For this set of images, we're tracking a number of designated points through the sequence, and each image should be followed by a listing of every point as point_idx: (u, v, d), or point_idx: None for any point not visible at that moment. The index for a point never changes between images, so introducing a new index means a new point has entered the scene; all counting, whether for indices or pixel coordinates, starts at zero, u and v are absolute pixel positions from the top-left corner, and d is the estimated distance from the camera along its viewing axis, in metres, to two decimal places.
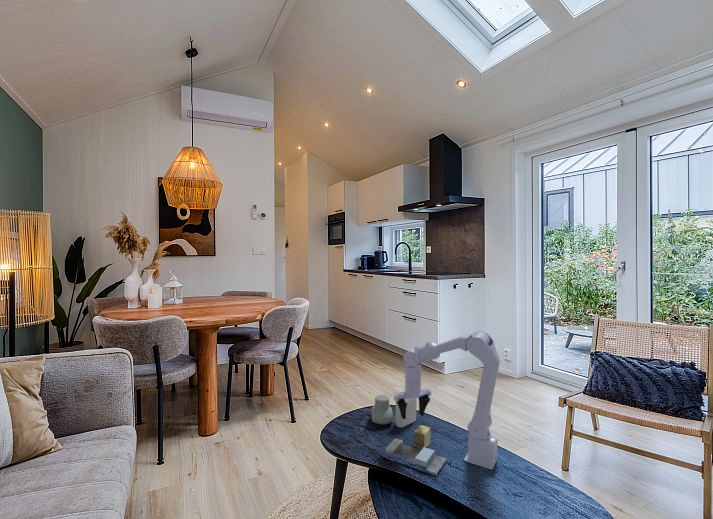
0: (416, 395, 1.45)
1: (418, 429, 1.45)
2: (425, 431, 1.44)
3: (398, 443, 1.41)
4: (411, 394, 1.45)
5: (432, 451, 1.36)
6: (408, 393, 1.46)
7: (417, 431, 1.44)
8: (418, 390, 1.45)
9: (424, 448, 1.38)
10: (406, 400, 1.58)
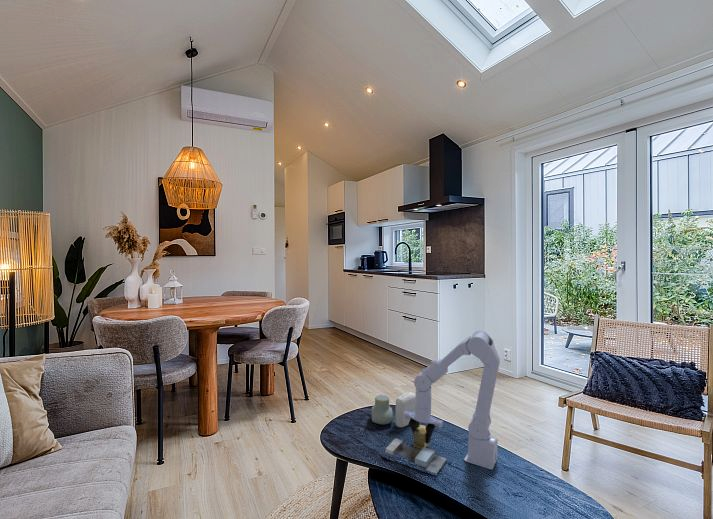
0: (419, 419, 1.43)
1: (418, 429, 1.45)
2: (425, 431, 1.44)
3: (398, 443, 1.41)
4: (416, 416, 1.44)
5: (432, 451, 1.36)
6: (415, 414, 1.45)
7: (417, 431, 1.44)
8: (422, 415, 1.42)
9: (424, 448, 1.38)
10: (406, 400, 1.58)
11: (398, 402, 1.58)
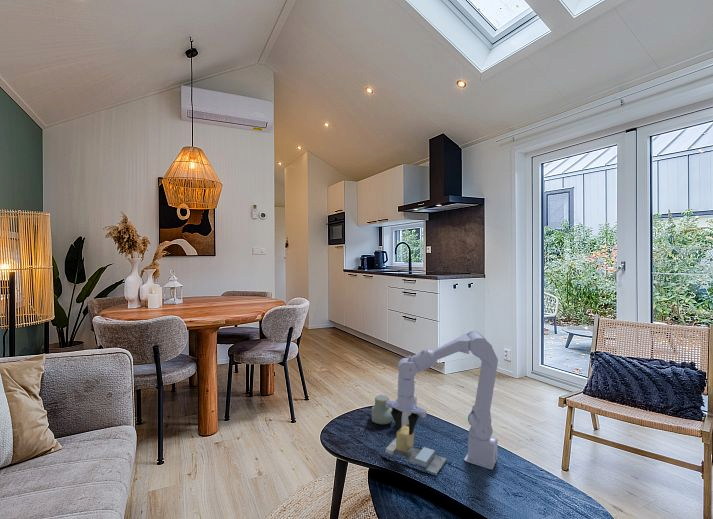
0: (402, 409, 1.35)
1: (401, 429, 1.38)
2: (407, 431, 1.37)
3: None
4: (398, 406, 1.36)
5: (432, 451, 1.36)
6: (397, 404, 1.37)
7: (399, 431, 1.37)
8: (404, 404, 1.34)
9: (424, 448, 1.38)
10: None
11: None
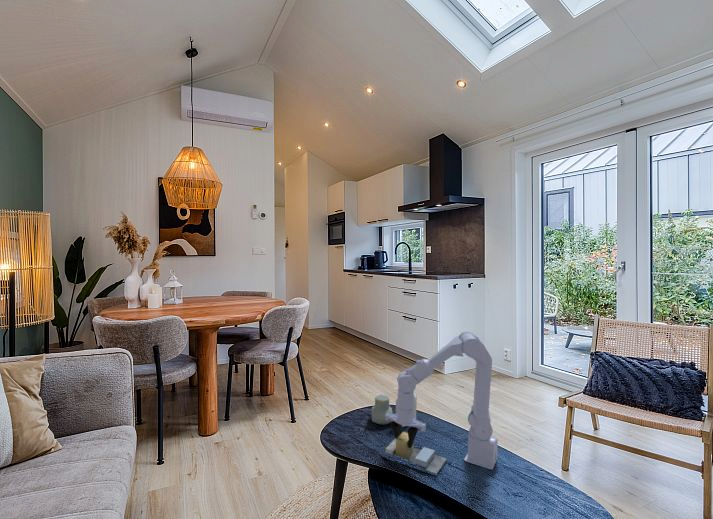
0: (401, 422, 1.35)
1: (400, 436, 1.38)
2: (407, 438, 1.37)
3: None
4: (398, 419, 1.37)
5: (432, 451, 1.36)
6: (397, 417, 1.38)
7: (399, 438, 1.37)
8: (404, 418, 1.35)
9: (424, 448, 1.38)
10: None
11: None
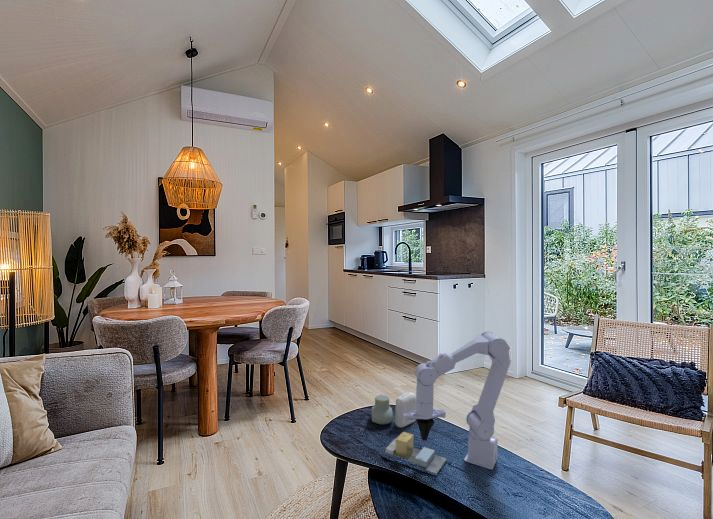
0: (427, 416, 1.31)
1: (400, 436, 1.38)
2: (407, 438, 1.37)
3: None
4: (421, 415, 1.31)
5: (432, 451, 1.36)
6: (418, 413, 1.32)
7: (399, 438, 1.37)
8: (430, 411, 1.31)
9: (424, 448, 1.38)
10: (406, 400, 1.58)
11: (398, 402, 1.58)
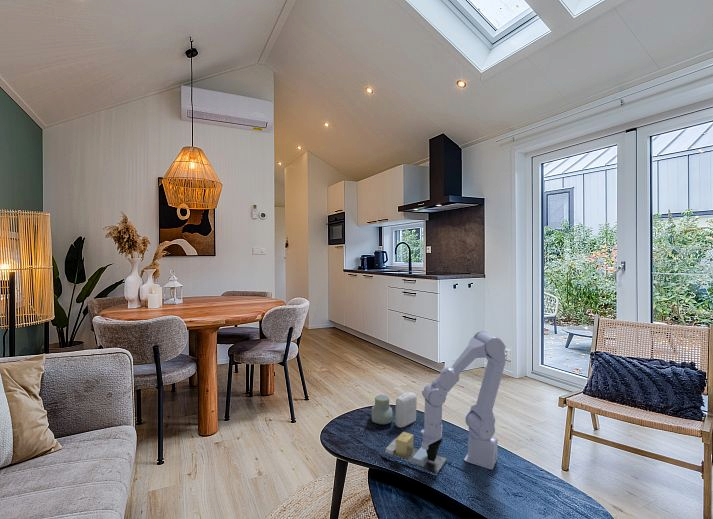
0: (440, 435, 1.31)
1: (400, 436, 1.38)
2: (407, 438, 1.37)
3: None
4: (437, 436, 1.30)
5: None
6: (433, 436, 1.30)
7: (399, 438, 1.37)
8: (441, 429, 1.32)
9: None
10: (406, 400, 1.58)
11: (398, 402, 1.58)
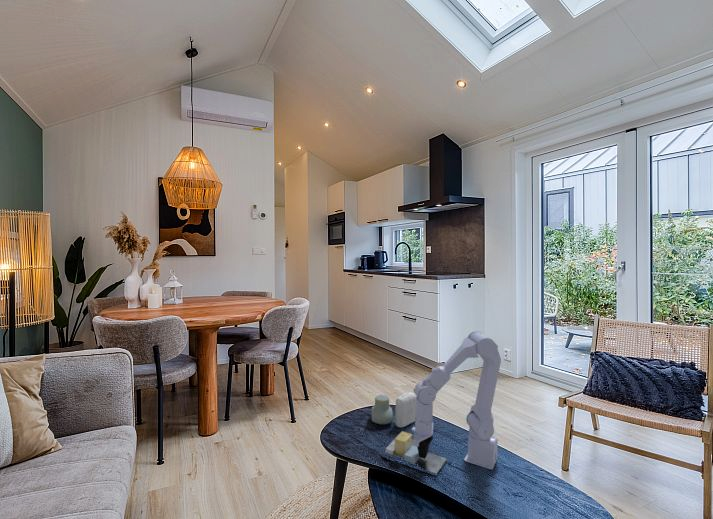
0: (431, 433, 1.33)
1: (399, 436, 1.38)
2: (406, 438, 1.37)
3: None
4: (427, 433, 1.31)
5: None
6: (424, 433, 1.31)
7: (398, 438, 1.37)
8: (432, 427, 1.33)
9: None
10: (406, 400, 1.58)
11: (398, 402, 1.58)
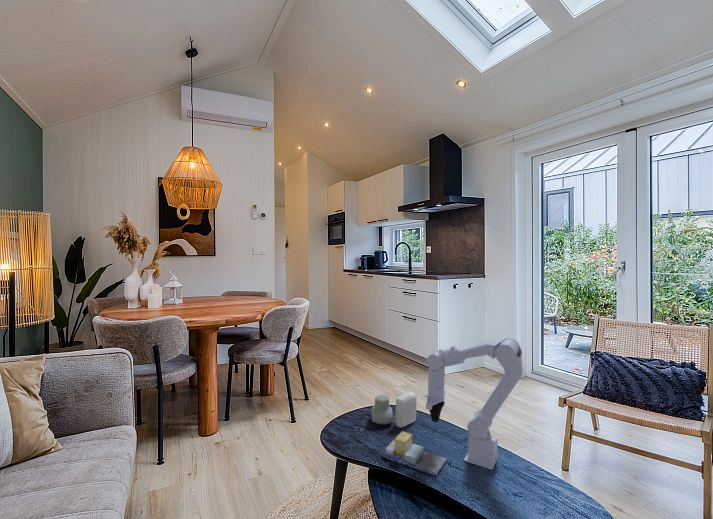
0: (443, 398, 1.42)
1: (399, 436, 1.38)
2: (406, 438, 1.37)
3: None
4: (440, 398, 1.41)
5: (421, 448, 1.38)
6: (436, 398, 1.41)
7: (398, 438, 1.37)
8: (443, 392, 1.43)
9: (413, 445, 1.40)
10: (406, 400, 1.58)
11: (398, 402, 1.58)
